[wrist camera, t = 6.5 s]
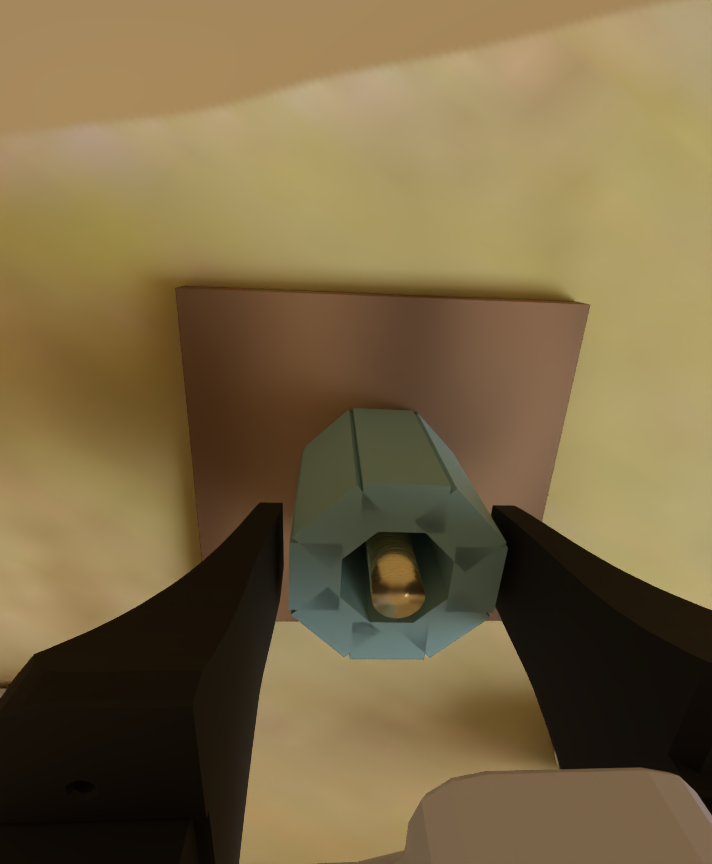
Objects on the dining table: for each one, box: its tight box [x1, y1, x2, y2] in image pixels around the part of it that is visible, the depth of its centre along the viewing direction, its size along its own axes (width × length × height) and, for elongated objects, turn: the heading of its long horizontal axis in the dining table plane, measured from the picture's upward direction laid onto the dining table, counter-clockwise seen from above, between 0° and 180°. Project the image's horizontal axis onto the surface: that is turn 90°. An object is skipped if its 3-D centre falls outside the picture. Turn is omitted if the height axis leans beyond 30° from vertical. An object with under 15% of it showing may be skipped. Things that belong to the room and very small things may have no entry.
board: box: [175, 286, 590, 621], centre depth 16 cm, size 12×12×1 cm
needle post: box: [365, 532, 425, 618], centre depth 13 cm, size 2×2×6 cm
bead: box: [289, 408, 508, 660], centre depth 13 cm, size 5×5×5 cm
